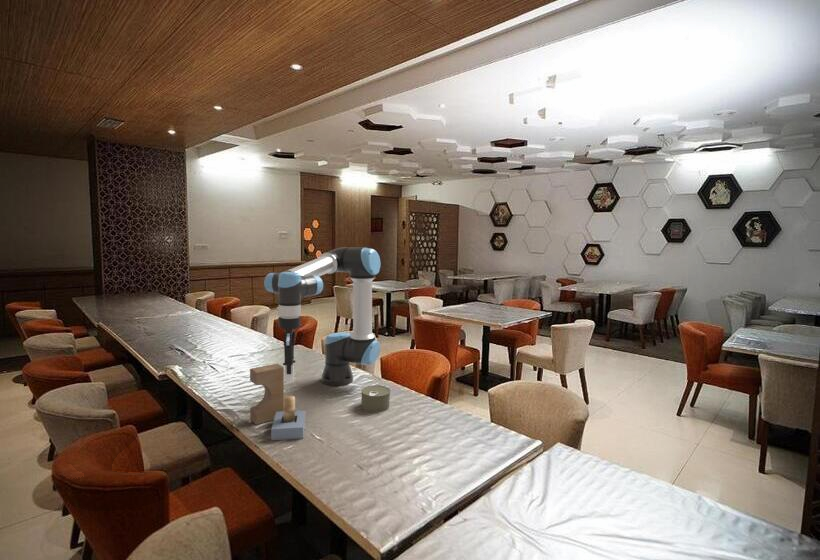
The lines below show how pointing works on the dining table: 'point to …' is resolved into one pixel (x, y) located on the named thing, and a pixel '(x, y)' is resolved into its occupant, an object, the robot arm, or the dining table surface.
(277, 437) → the board
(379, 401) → the can
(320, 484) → the dining table surface
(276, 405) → the decorative block
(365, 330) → the robot arm
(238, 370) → the dining table surface
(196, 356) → the dining table surface
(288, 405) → the peg
